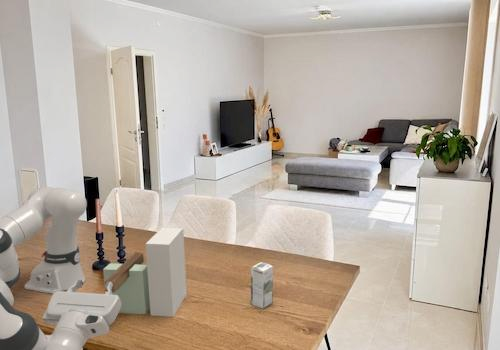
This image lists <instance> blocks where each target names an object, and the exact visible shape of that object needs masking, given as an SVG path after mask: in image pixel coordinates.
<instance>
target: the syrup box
mask: <svg viewBox="0 0 500 350" xmlns="http://www.w3.org/2000/svg"><path fill="white" fill-rule="evenodd" d="M273 295H274V266H273V265H271V264H269V263H266V262H262V261H261V262H259V263H256V264H255V265H253V266H251V267H250V304H251V306H255V307H258V308H259V309H263V310H264V309H265V308H267V307H269V306H270V305H272V304H273V303H274V301H273V300H274V297H273Z"/></svg>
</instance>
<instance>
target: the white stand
mask: <svg viewBox="0 0 500 350" xmlns="http://www.w3.org/2000/svg"><path fill="white" fill-rule="evenodd" d="M184 235H185V234H184V228H179V227H161V228H160V229H159V230H158V231H157V232H156V233H155V234H154V235H153V236H152V237H150V239H149V240H148V241H147V242H146V243H145V255H146V265H147V272H148V285H149V299H150V309H149V312H150V313H149V314H150V316H151V317H152V316H155V317H165V318H167V317H168V318H169V317H171V318H174V316H175V315H176V313H177V312H178V310H179V308H180V306H181V305H182V303H183V301H184V299H185V298H186V296H187V295H188V294H187V291H188V290H187V275H186V274H187V273H186V260H185V259H186V256H185V255H186V254H185V240H184V239H185V238H184Z"/></svg>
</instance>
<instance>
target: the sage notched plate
mask: <svg viewBox="0 0 500 350" xmlns="http://www.w3.org/2000/svg"><path fill="white" fill-rule="evenodd" d="M123 264H124V263H113V262H110V263H108V264H107V265H106V266H105V267H104V268H103V269H102V270H103V282H104V285H105V281H106V280H107V279H108V278H109V277H110V276H111V275H112V274H113V273H114V272H115V271H116V270H117V269H119V268H120V267H121V266H122V265H123ZM104 291H105V292H106V290H105V289H104ZM112 295H118V296H119V298H120V300H121V302H122V305H121V308H120V310H119V313H118V314H132V315H147V313H148V312H149V311H150V299H149V285H148V272H147V264H141V265H138V264H135V265H134V266H133V267H132V268H131V269H130V270H129V278H128V279H127V280H126V281H125V282H124V283H123V284H122V285H121V286H120V287H119V288H118V289H117V290H116V291H115V292H112Z"/></svg>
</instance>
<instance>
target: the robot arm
mask: <svg viewBox="0 0 500 350" xmlns="http://www.w3.org/2000/svg"><path fill="white" fill-rule="evenodd" d="M87 203H88V202H87V199H86V197H85V195H83V194H82V193H80V192H78V191H75V190H73V189H68V188H67V189H65V188H58V187H51V186H41V187H36V188H34V189H33V190H32V191H31V192H30V193H29V194H28V197H27V200H26V201H25V202H24V203H23V204H22V205H20V206H19V207H17V208H15V209H14V210H12V211H11V212H9V213H7V214H6V215H4V216H2V217H1V218H0V350H82V348H83V347H84V346H85V344H86V342H87V341H88V340H89V339H92V338H96V337H100V336H104V335H107V334H108V333H109V332H110V325H112V324H113V323H114V322H115V320H116V318H117V317H118V315H119V314H120V313H119V310H120V308H121V305H122V302H121V300H120V298H119V296H118V295H112V291H111V289H112V286H113V284H112V282H106V284H104V289H105V288H106V290H108V292H107V291H106V292H105V293H93V292H92V293H91V292H80V291H79V292H78V289H81V288H83V285H84V283H85V281H86V277H85V275H84V271H83V269H82V265H81V255H80V254H81V253H80V247H79V246H78V237H77V226H78V223H79V219H80V218H81V217H82V216H83V215H84V213H85V212H86V209H87V206H88V204H87ZM49 218H51V223H50V227H49V228H48V229H47V230H46V231H45V234H44V237H45V243H46V244H45V245H46V251H44V252H43V253H41V258H43V260H42V261H40V263H38V265H36V266H35V267H34V268H33V269H32V270H31V272H30V279H29V280H28V281H26V283H25V284H24V289H25V290H29V291H36V292H41V293H46V294H51V297H50V299H49V301H48V305H47V308H46V310H45V312H44V314H43V316H42V321H43V322H44V323H45V324H48V325H51V324H52V325H56V326H55V327H54V329H53V331H52V334H45V333H44V332H43V330H41V328H40V327H39V326H38V324H37V322H36V320H35V318H34V317H33V316H32V315H30V314H29V313H27V312H26V313H25V312H23V311H20V310H17V309H15V308H14V306H13V305H14V302H15V298H14V295H13V293H12V290H11V289H10V288H13V286H15V285H16V284H17V283H18V282H19V281H20V277H21V268H20V264H19V259H18V258H19V257H18V253H17V252H16V247H18V246H19V245H21V244H23V243H25V242H26V241H27V240H29V239H30V238H32V237H33V236H34V235H36V234H38V233H39V232H41V231H42V230H43V227H44V222H45V221H47V219H49Z"/></svg>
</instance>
